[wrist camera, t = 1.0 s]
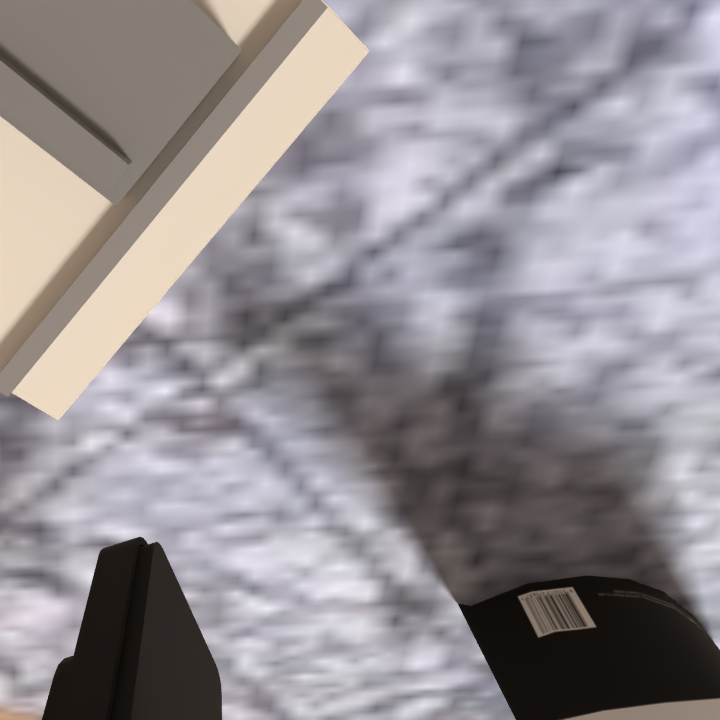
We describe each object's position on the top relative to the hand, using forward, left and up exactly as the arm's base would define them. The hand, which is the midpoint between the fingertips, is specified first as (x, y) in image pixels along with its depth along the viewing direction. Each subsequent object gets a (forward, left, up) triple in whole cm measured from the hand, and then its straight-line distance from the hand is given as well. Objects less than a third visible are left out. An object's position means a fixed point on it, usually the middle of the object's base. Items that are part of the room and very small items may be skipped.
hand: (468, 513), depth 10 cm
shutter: (0, -10, -19) cm, 21 cm away
